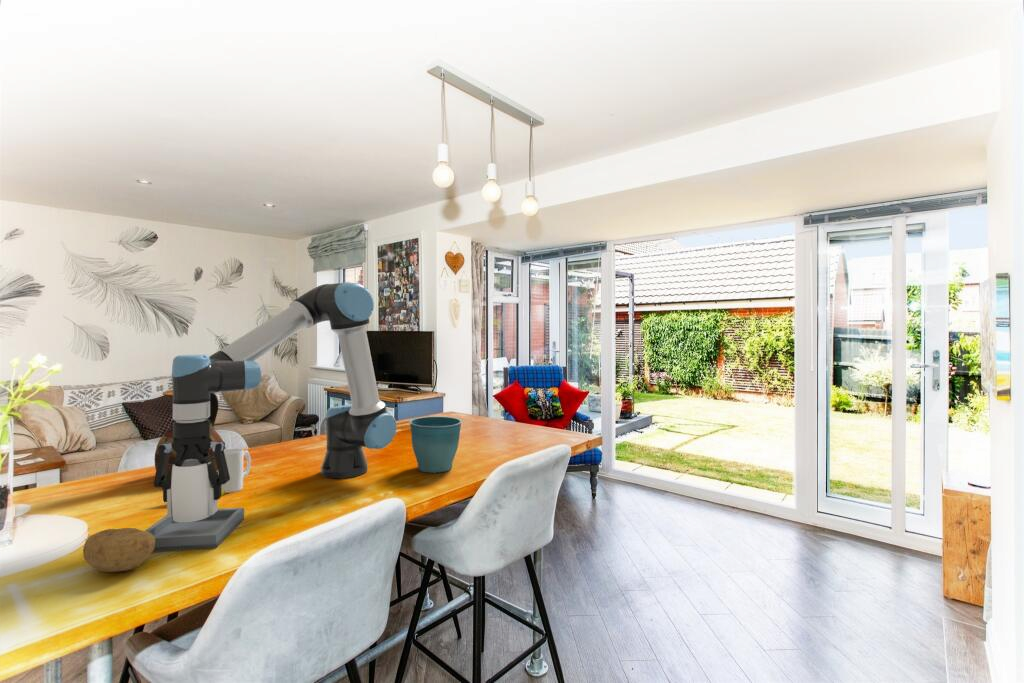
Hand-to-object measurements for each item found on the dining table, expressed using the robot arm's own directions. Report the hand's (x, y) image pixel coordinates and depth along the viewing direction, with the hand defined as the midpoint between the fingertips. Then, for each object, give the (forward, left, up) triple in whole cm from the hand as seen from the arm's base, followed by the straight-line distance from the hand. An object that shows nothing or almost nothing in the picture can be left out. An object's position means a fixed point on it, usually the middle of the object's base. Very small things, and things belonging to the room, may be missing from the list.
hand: (192, 513), depth 118 cm
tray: (0, 0, -5) cm, 5 cm away
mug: (+3, -35, -5) cm, 36 cm away
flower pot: (-58, -48, -5) cm, 75 cm away
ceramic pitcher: (+22, -50, -5) cm, 55 cm away
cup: (0, 0, -2) cm, 2 cm away
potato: (+7, +16, -5) cm, 18 cm away
